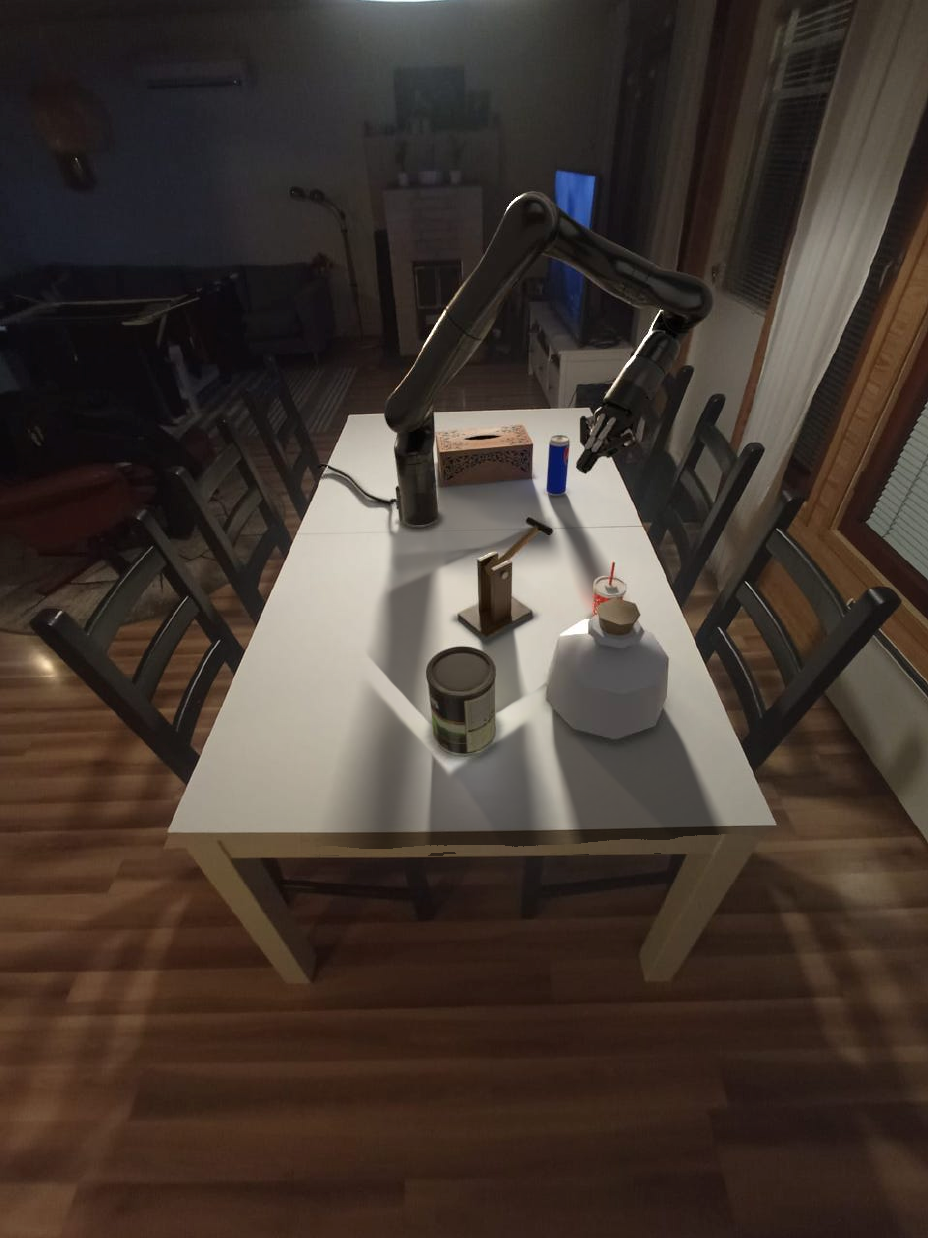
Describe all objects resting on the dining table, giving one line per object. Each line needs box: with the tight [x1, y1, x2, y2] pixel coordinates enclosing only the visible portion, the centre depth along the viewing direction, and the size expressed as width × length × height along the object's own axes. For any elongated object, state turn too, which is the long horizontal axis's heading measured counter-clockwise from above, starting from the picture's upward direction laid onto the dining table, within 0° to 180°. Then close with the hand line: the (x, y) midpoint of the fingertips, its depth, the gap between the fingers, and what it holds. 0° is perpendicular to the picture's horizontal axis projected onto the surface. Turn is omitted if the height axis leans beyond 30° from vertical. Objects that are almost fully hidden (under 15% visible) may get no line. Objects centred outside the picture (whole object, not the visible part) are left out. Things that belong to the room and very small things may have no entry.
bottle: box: [545, 598, 670, 740], centre depth 89 cm, size 20×20×19 cm
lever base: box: [457, 550, 533, 639], centre depth 108 cm, size 12×9×14 cm
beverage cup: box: [592, 561, 628, 617], centre depth 105 cm, size 6×6×14 cm
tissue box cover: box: [435, 423, 534, 487], centre depth 160 cm, size 26×14×10 cm, turn 97°
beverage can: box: [546, 434, 571, 497], centre depth 147 cm, size 5×5×15 cm
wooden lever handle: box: [484, 515, 554, 576], centre depth 105 cm, size 14×6×2 cm, turn 127°
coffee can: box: [425, 645, 497, 757], centre depth 86 cm, size 10×10×14 cm
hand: (580, 470), depth 106 cm, fingers closed
